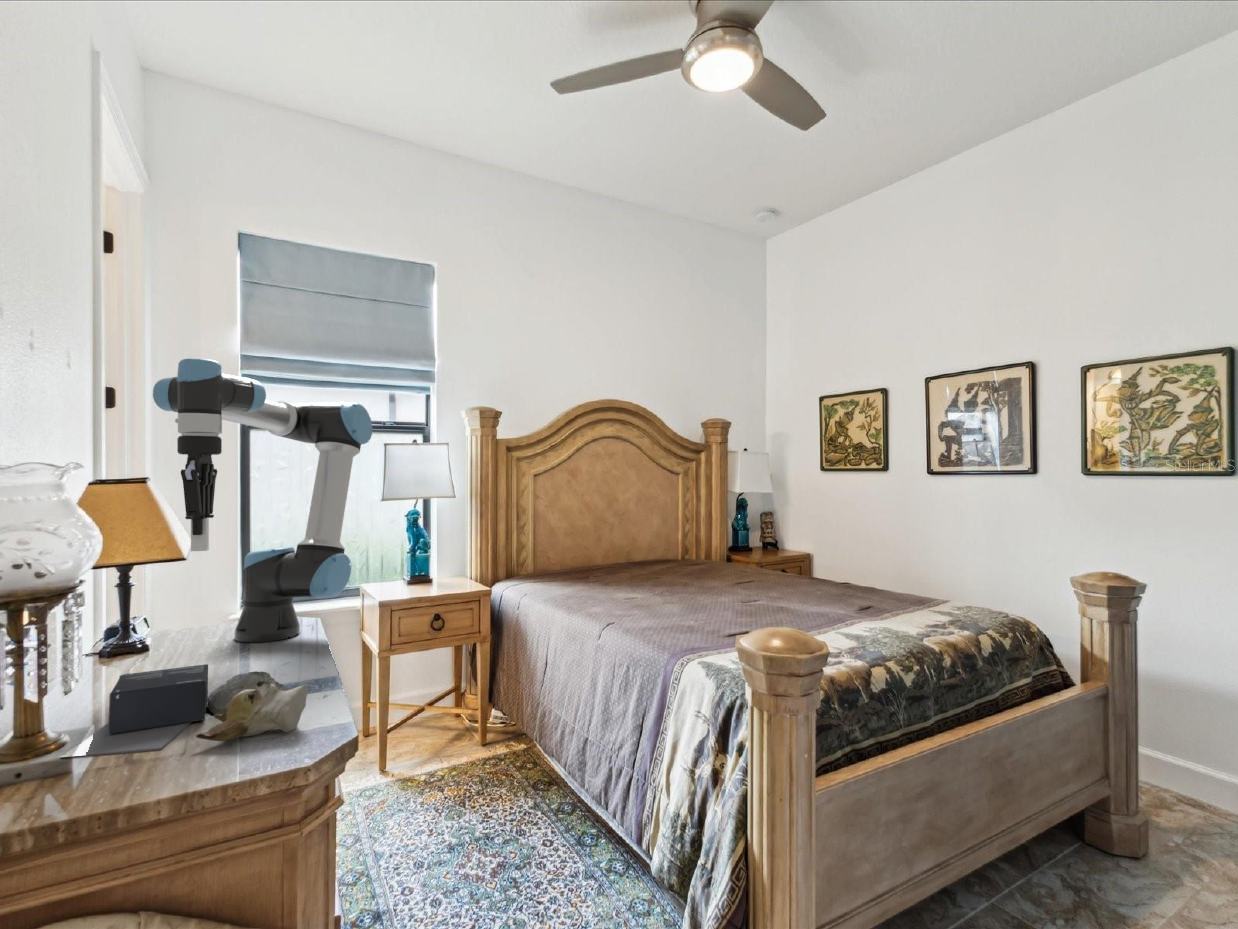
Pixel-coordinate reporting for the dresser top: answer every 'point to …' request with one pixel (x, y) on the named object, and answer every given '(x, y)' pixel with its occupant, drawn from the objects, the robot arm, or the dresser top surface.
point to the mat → (133, 739)
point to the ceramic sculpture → (259, 712)
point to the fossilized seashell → (237, 689)
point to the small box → (158, 699)
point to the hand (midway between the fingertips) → (199, 550)
